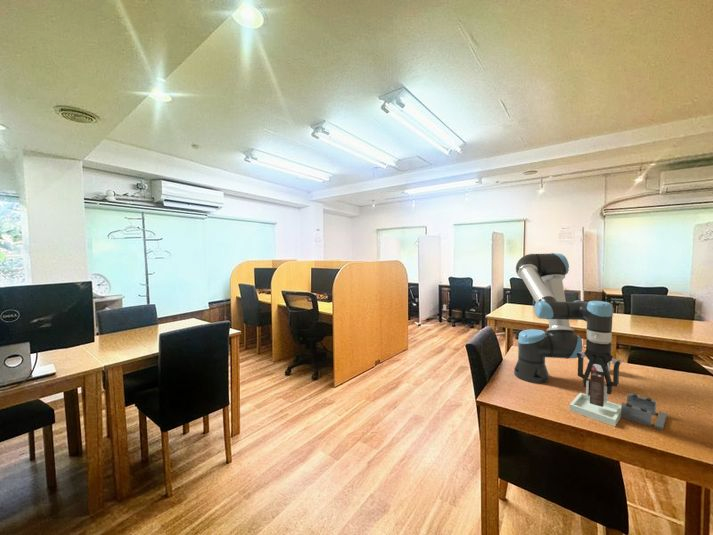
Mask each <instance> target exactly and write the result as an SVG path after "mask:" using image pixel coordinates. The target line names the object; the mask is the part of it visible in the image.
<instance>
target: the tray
mask: <svg viewBox="0 0 713 535" xmlns="http://www.w3.org/2000/svg"><path fill="white" fill-rule="evenodd" d="M568 409H569V411H570V412H573V413H575V414H578V415H581V416H584V417H587V418H589V419H592V420H594V421H597V422H600V423H604V424H606V425H608V424H609V426H611V425H612V427H614V426H617V425H618V423H619V421H620V420H621V418H622V417H621V404H619V403H614V402H611V401H609V400H608V401H607V402H604V405H603V407H601V406H597V405H593V404H590V396H589V397H587V396H586V393H584V392H583V393H582V392H579V393H578V394H577V395H576V397H574V399H573V400H572V401H570V403H569V408H568ZM616 424H617V425H616Z"/></svg>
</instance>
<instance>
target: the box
mask: <svg viewBox="0 0 713 535" xmlns="http://www.w3.org/2000/svg"><path fill="white" fill-rule="evenodd" d="M589 377H590V378H589V379H590V404H593V405H597V406H601V407H603V405H604V385H605V377H604V373H603V372H601V371H596V370H591V372H590V376H589Z"/></svg>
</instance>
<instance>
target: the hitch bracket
mask: <svg viewBox="0 0 713 535" xmlns="http://www.w3.org/2000/svg"><path fill="white" fill-rule="evenodd" d="M620 405H621V418H623V419H626V420H629V421H633V422H635V423H639V424H641V425H643V426H644V425H645V426H647V427H651V426H652V418H653V417H652V416H655V415H656V414H657V413H656V411H657V410H656V409H657V400H655V399H652V398H651V397H643V396H640V395H638V394H637V393H634V392H633V393H630V392H628V393H627V396H626V402H622V403H621V404H620ZM667 417H668V413H665V412H663V411H660V410H659V411H658V414H657V417H656V420H655V422H654V429H655V430H659V431H663V430H664V426H665V424H666V420H667Z"/></svg>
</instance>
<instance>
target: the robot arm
mask: <svg viewBox="0 0 713 535" xmlns="http://www.w3.org/2000/svg"><path fill="white" fill-rule="evenodd" d="M569 270H570V265H569V260H568V258H566V256H565V255H564V254H562V253H554V252H551V253H528V254H526V255H524V256H522V257H521V258H520V259H519V260H518V261H517V262H516V266H515V272H516V275H517V276H518V278H519V279H520V280H522V282H523V283H524V284H525V285H526V287H527V289H528V291H529V293H530V295H531V296H532V298H533V300H534V302H535V303H534V307H533V308H534V315H535V316H536V317H537V318H538V319H543V320H544V319H545V320H548V326H549V327H548V328H547V329H546V332H545V331H544V330H542V329H535V328H533V329H531V328H530V329H524V330H521V331H520V332H519V333H518V339H517V343H518V344H517V345H518V348H517V349H518V350H517V352H518V354H517V355H518V357H517V361H516V362H515V363H516V364H515V366H514V368H513V371H514V372H513V374H514V376H515V377H517V378H518V379H520V380H522V381H525V382H529V383H535V384H543V383H547V382H548V381H550V380H549V379H550V374H549V371H548V369H547V366H546V358H547V359H549V358H552V359H567V360H568V359H577V377H579V378H581V379H582V387H583V388H585V394H586V396H587V397H589V396H590V378H589V377H590V376H591V369H592V367H593V364H598V365H601V367H602V369H603V373H604V381H605V383H604V402H607V401H609V395H611V394H612V393H613V387H615V388H617V387H618V386H619V383H620V380H619V379H620V366H621V364H622V361H621V360H620V359H618V360H617V359H615V358H614V357H613V356H612V343H611V342H612V341H613V340H612V338H613V334H612V332H613V331H612V330H613V317H614V315H613V314H614V312H613V305H612V303H610V302H608V301H602V300H590V301H585V300H578V299H577V300H574V301H566V300H567V299H566V294H565V289H564V283H563V282H564V281H563V280H564V279H565V278H566V275H567V274H568V273H569ZM570 320H574V321H575V320H576V321H584V322H586V336H585V337H586V341H585V351H583V344H584V343H583V340H582V338H581V336H580V335H579V334H576V333H575V332H576V331H575V329H573V327H571V326H570V325H571V324H570ZM584 357H586V359H587V360H588V359H589V363H588V362H587V365H588V366H587V367H586V369H585V372H584ZM610 361H611V362H612V365H613V369H612V370H613V374H612V377H613V378H612V377H611V373H610V372H609V370H608V365H607V363H608V362H610Z"/></svg>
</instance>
